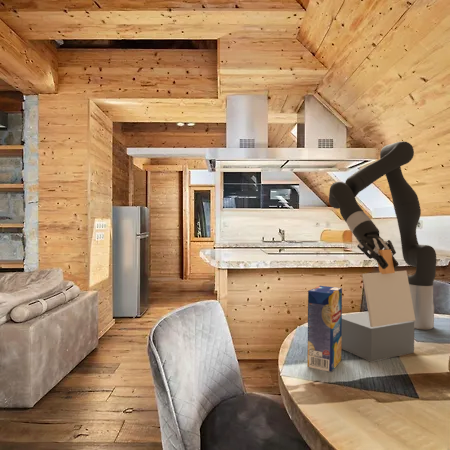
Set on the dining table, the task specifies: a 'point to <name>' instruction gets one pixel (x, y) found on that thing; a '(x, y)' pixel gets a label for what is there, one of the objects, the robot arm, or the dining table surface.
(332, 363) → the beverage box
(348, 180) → the robot arm
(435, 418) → the dining table surface
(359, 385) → the dining table surface
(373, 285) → the lid flap
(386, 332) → the carton
